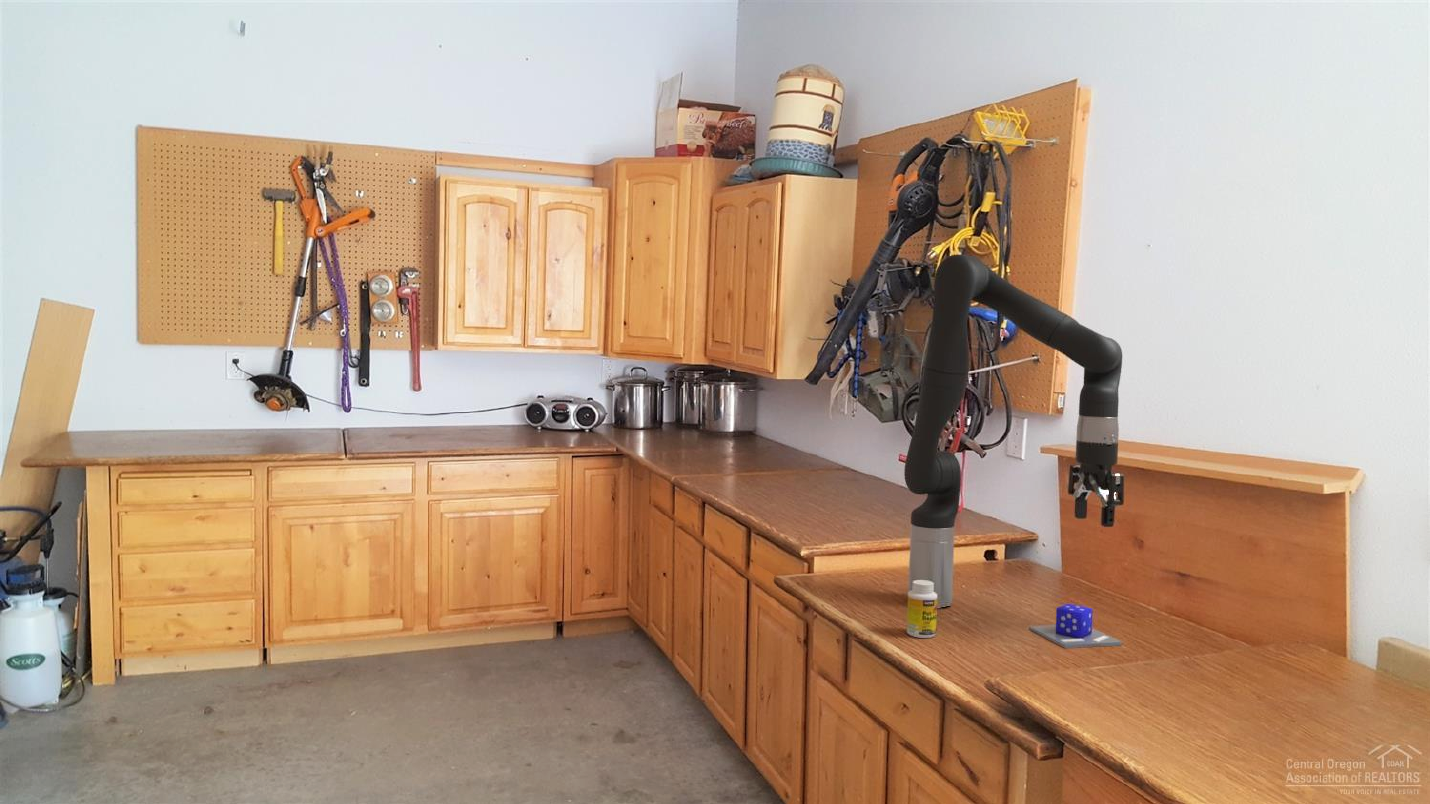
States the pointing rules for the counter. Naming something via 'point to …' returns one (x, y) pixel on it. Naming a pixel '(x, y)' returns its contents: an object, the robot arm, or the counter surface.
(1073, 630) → the die
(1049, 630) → the tile
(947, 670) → the counter surface
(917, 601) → the supplement bottle
